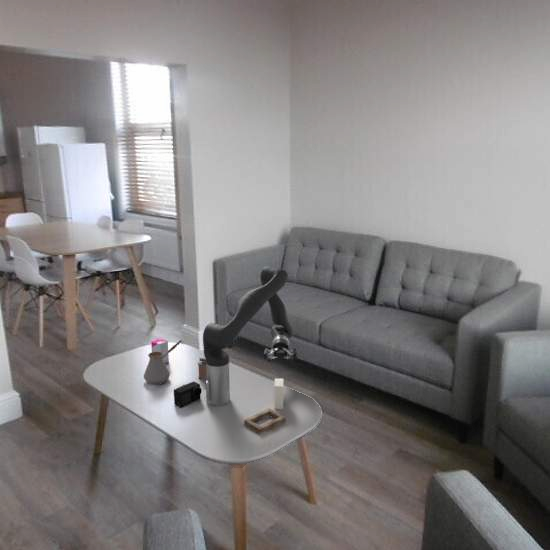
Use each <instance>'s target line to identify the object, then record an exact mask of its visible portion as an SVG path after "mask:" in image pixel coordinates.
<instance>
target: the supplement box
mask: <svg viewBox="0 0 550 550" xmlns="http://www.w3.org/2000/svg"><path fill="white" fill-rule="evenodd" d="M150 344H151V345H150V346H151V353H152V352H162V353H163V355H164V354H166V353H167V352H168V351H169V341H168V340H167V339H163V338H157V339H154V340H152V341H151V342H150ZM169 356H170V355H169V353H168V354H167V355H166V356H165V357H164V358H163V359H162V360H163V362H164V363H165V365H167V364H169V362H170V361H169V360H170V359H169V358H170V357H169Z"/></svg>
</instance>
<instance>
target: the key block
mask: <svg viewBox="0 0 550 550" xmlns="http://www.w3.org/2000/svg"><path fill="white" fill-rule="evenodd" d="M273 386H274V388H273V389H274V390H273V391H274V392H273V393H274V396H273V397H274V399H273V400H274V401H273V402H274V403H273V404H274V405H273V407H274V409H273V410H284V378H276V377H275V378H274V385H273Z"/></svg>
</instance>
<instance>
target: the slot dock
mask: <svg viewBox="0 0 550 550" xmlns="http://www.w3.org/2000/svg"><path fill="white" fill-rule="evenodd" d="M267 416H268V417H271V418H273V420H271V421H269V422H266V423H265V424H262V425H259V424H257V422H259V421H261V420H263V419H265V418H268V417H267ZM274 418H275V419H274ZM285 422H286V416H284V415H282V414H281V413H279V412H277V411H275V410H274V409H272V408H270V407H269V408H268V409H265V410H263V411H261V412H259V413H256V414H254V415H253V416H250V417H248V418H246V419H244V421H243V423H244V426H246V427H247V428H249V429H250V430H252V431H254V432H255V433H256V434H258V435H262V434H264V433H266V432H268V431H269V430H271V429H274V428H275V427H277V426H279V425H281V424H284V423H285Z"/></svg>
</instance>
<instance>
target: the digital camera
mask: <svg viewBox="0 0 550 550" xmlns="http://www.w3.org/2000/svg"><path fill="white" fill-rule="evenodd" d="M202 391H203V389H202V388H201V383H199V382H196V381H191V382H189V383H185V384H183V385H182V386H179V387H177V388H174V389H173V401H174V404H175V405H174V406H176V407H177V408H179V409H183V408H184V407H186V406H189V405H191V404H194V403H196V402H198V401H199V400H201V394H202Z"/></svg>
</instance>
